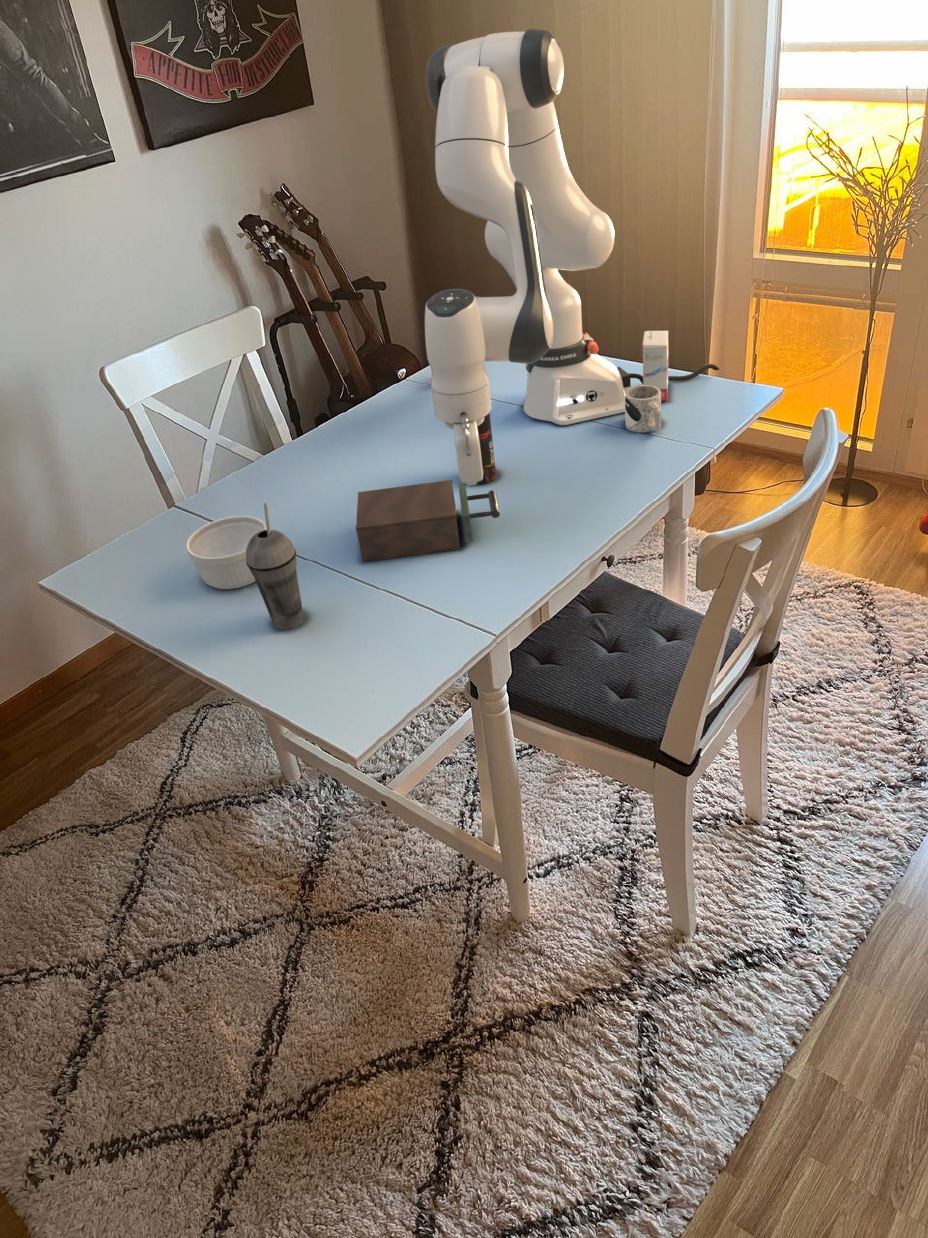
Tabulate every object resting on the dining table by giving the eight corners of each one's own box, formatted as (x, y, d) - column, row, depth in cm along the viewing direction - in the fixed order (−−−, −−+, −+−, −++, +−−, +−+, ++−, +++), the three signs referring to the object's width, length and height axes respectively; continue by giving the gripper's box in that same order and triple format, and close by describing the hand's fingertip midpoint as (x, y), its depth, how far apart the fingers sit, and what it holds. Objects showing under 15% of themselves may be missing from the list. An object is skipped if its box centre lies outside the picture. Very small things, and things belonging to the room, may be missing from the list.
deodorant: (464, 470, 178) (454, 394, 170) (496, 467, 178) (488, 391, 169) (463, 486, 174) (453, 408, 165) (496, 483, 173) (487, 405, 164)
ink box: (667, 402, 192) (667, 345, 185) (642, 402, 193) (642, 346, 186) (668, 384, 199) (669, 328, 192) (644, 385, 200) (644, 329, 193)
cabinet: (456, 513, 166) (451, 479, 162) (460, 549, 156) (455, 515, 153) (364, 524, 166) (358, 491, 163) (362, 562, 157) (355, 527, 153)
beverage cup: (259, 616, 147) (226, 502, 136) (305, 601, 149) (275, 487, 138) (271, 641, 142) (237, 524, 130) (318, 625, 144) (288, 509, 132)
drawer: (497, 505, 165) (494, 479, 162) (502, 538, 156) (500, 511, 153) (381, 520, 166) (376, 495, 163) (380, 553, 157) (375, 527, 154)
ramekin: (181, 589, 156) (168, 553, 152) (225, 546, 166) (214, 511, 162) (250, 599, 152) (239, 562, 148) (291, 554, 161) (282, 518, 157)
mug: (619, 422, 187) (619, 390, 183) (650, 414, 189) (650, 382, 185) (643, 442, 180) (643, 409, 176) (675, 433, 181) (675, 400, 177)
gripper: (487, 426, 139) (495, 510, 147) (477, 374, 156) (486, 451, 164) (444, 432, 139) (455, 515, 147) (439, 379, 156) (449, 456, 164)
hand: (471, 481), depth 156 cm, fingers closed
